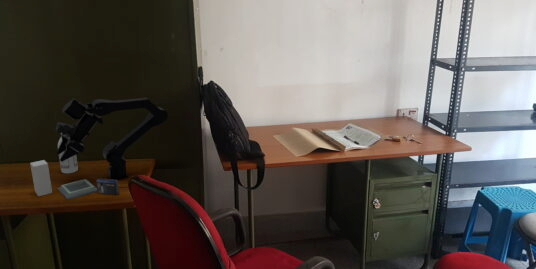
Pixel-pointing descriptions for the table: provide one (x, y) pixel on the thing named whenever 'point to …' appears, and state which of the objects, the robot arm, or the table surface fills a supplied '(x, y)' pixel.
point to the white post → (41, 177)
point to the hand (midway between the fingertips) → (59, 157)
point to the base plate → (77, 189)
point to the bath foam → (68, 162)
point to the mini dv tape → (107, 186)
